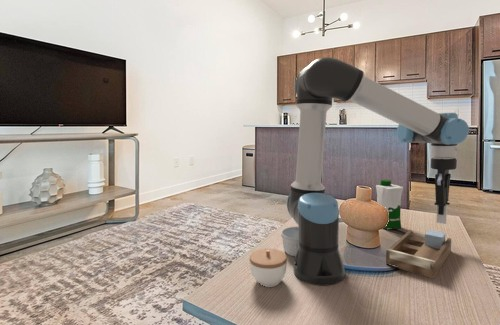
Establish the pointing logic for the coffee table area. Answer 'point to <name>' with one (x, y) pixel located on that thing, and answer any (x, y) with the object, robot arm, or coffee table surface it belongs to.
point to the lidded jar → (268, 266)
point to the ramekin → (290, 240)
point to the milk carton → (390, 201)
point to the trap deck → (417, 255)
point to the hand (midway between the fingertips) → (441, 222)
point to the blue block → (434, 239)
